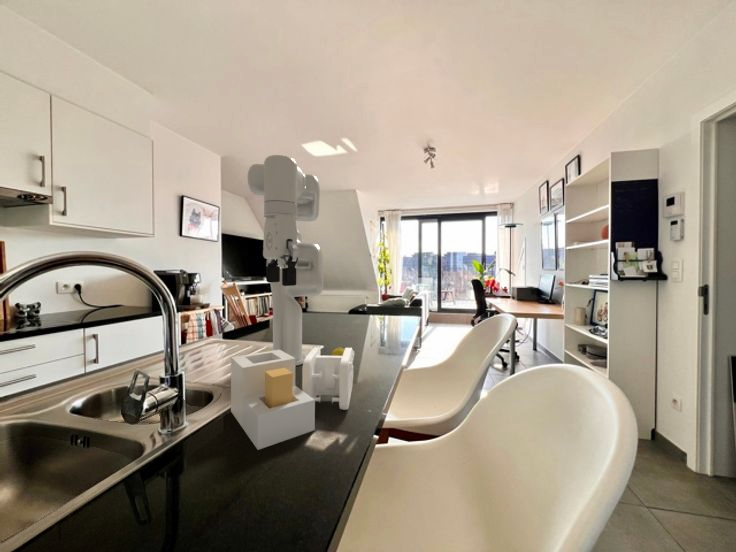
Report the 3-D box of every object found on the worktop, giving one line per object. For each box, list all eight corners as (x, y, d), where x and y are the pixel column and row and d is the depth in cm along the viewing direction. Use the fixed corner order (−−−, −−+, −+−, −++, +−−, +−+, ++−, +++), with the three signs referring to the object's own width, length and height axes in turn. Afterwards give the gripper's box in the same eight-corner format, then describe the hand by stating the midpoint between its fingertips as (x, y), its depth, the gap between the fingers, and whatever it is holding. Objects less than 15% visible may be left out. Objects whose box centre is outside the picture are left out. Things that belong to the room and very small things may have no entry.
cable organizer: (314, 388, 81) (314, 344, 81) (354, 388, 81) (354, 345, 81) (301, 415, 66) (301, 361, 66) (349, 416, 66) (350, 362, 66)
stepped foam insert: (231, 411, 67) (231, 357, 67) (279, 398, 74) (279, 349, 74) (257, 449, 53) (257, 381, 53) (314, 430, 60) (315, 369, 60)
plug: (264, 411, 60) (265, 371, 60) (284, 406, 63) (284, 367, 63) (272, 419, 57) (272, 377, 57) (292, 413, 60) (292, 372, 59)
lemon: (349, 370, 95) (349, 345, 95) (346, 376, 90) (346, 349, 90) (332, 369, 96) (332, 344, 96) (328, 376, 90) (328, 349, 90)
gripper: (253, 213, 77) (253, 281, 78) (279, 205, 63) (279, 288, 64) (281, 216, 81) (281, 280, 83) (312, 209, 68) (311, 286, 69)
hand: (280, 283), depth 73 cm, fingers open, 9 cm apart
